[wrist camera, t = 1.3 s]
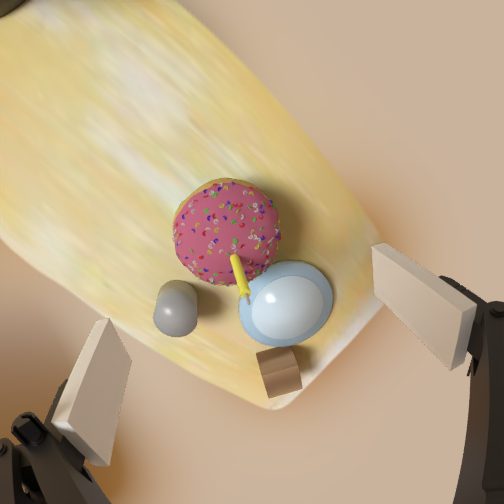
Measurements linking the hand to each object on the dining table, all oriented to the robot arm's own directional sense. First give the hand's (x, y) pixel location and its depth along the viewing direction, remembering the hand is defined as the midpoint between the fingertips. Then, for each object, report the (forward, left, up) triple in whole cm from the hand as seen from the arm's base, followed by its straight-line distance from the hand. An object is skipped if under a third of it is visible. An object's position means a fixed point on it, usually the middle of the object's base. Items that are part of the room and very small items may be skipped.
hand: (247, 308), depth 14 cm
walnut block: (+18, +1, -15) cm, 23 cm away
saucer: (+10, +4, -15) cm, 19 cm away
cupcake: (0, 0, -16) cm, 16 cm away
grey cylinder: (+6, -7, -15) cm, 18 cm away
